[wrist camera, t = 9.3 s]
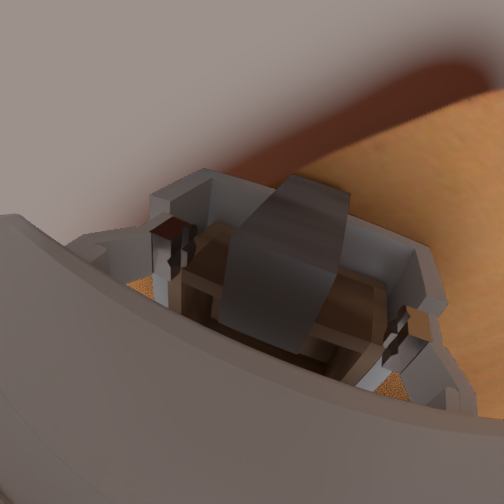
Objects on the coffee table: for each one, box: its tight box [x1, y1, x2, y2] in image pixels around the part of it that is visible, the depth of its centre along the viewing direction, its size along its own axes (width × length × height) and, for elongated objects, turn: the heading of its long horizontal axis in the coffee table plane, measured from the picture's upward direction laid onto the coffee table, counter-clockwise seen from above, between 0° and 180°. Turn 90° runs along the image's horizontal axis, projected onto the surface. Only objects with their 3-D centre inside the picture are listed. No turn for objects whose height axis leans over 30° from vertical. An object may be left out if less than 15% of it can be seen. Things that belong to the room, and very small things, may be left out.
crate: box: [168, 174, 387, 386], centre depth 13 cm, size 12×10×7 cm
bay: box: [150, 168, 448, 392], centre depth 19 cm, size 22×14×5 cm, turn 170°
